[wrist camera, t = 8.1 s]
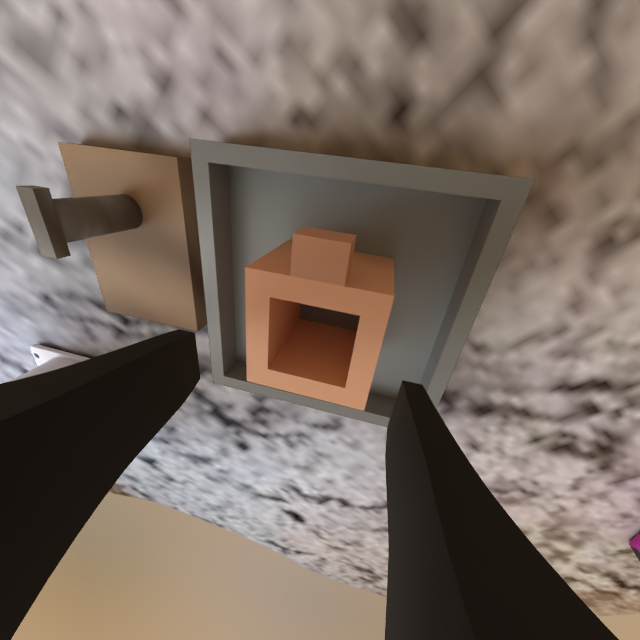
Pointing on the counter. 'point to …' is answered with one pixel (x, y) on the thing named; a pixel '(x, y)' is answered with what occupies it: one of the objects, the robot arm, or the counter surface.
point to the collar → (311, 337)
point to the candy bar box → (636, 545)
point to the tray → (372, 238)
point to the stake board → (128, 230)
